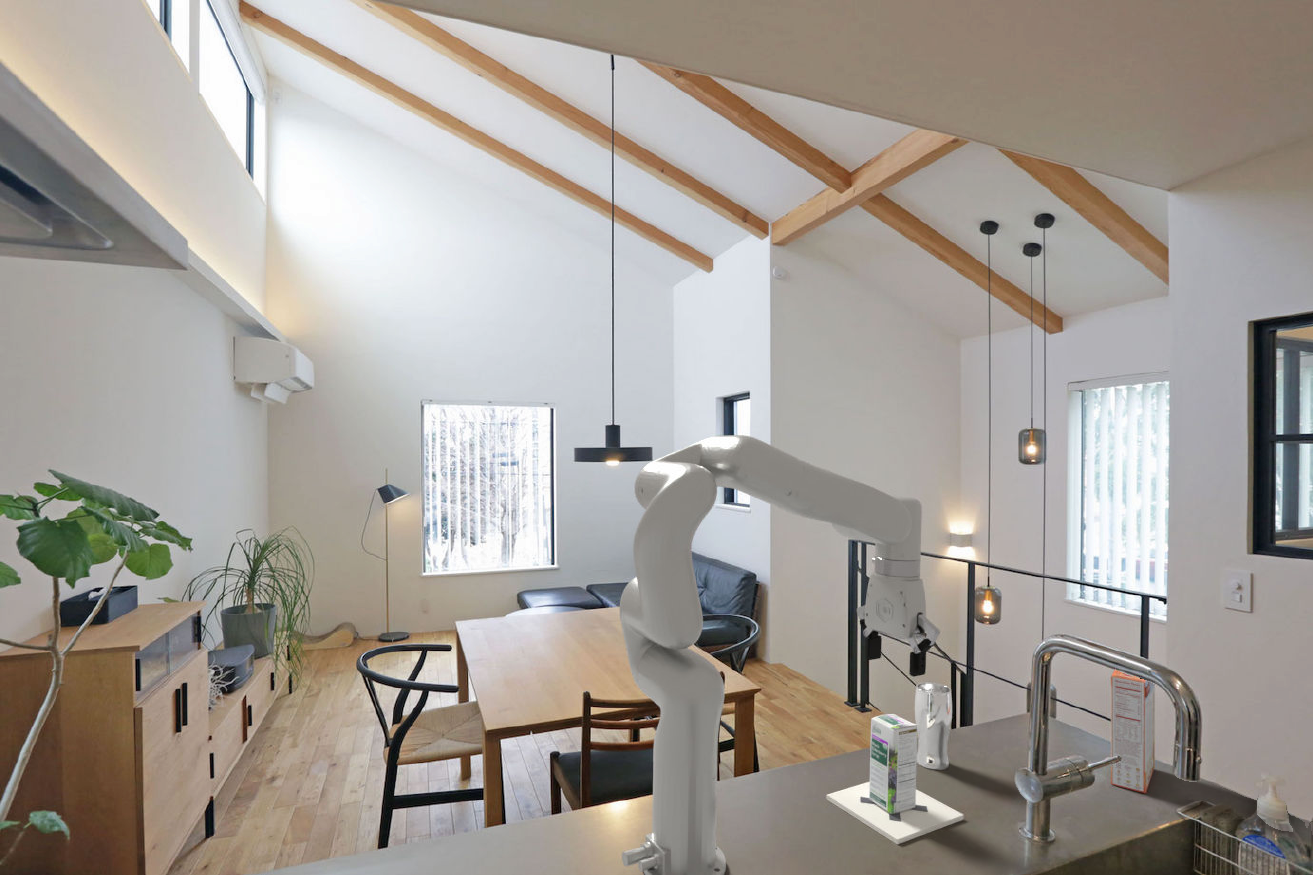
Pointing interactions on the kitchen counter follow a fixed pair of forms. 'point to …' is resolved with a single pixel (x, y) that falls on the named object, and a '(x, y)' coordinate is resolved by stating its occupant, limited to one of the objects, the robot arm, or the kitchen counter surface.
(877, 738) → the syrup box
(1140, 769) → the cracker box
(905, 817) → the letter placard
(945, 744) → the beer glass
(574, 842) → the kitchen counter surface
